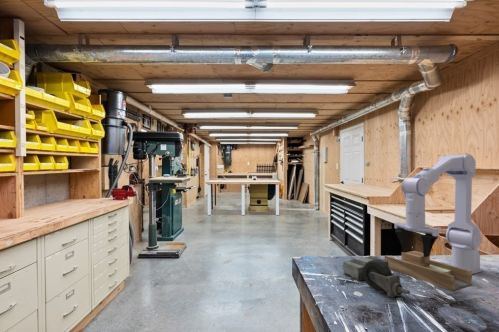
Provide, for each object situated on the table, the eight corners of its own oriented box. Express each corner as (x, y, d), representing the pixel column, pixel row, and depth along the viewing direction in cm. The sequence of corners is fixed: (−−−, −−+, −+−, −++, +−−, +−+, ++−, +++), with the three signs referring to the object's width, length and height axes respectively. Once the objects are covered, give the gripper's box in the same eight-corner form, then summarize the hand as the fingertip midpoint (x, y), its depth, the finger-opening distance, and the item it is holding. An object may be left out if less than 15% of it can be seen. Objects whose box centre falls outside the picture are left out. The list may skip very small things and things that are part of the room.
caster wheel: (361, 289, 97) (403, 302, 84) (358, 259, 98) (399, 267, 85) (373, 285, 100) (415, 298, 87) (370, 256, 101) (412, 264, 88)
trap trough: (403, 263, 120) (403, 252, 120) (471, 284, 98) (471, 271, 98) (384, 267, 115) (384, 255, 115) (452, 290, 93) (452, 276, 93)
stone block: (340, 273, 110) (340, 259, 110) (370, 268, 116) (369, 254, 116) (358, 281, 102) (358, 266, 102) (388, 275, 107) (388, 261, 107)
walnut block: (414, 261, 113) (414, 250, 113) (429, 265, 108) (429, 254, 108) (404, 263, 111) (403, 252, 111) (419, 268, 105) (419, 257, 105)
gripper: (388, 211, 104) (388, 249, 104) (429, 217, 91) (429, 261, 91) (401, 209, 108) (402, 247, 107) (442, 215, 95) (443, 257, 94)
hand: (415, 253), depth 100 cm, fingers open, 7 cm apart
